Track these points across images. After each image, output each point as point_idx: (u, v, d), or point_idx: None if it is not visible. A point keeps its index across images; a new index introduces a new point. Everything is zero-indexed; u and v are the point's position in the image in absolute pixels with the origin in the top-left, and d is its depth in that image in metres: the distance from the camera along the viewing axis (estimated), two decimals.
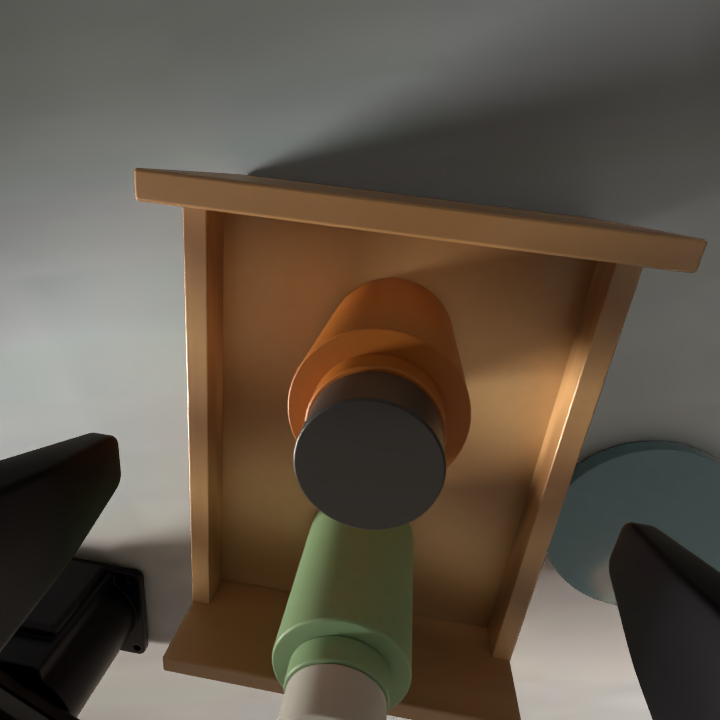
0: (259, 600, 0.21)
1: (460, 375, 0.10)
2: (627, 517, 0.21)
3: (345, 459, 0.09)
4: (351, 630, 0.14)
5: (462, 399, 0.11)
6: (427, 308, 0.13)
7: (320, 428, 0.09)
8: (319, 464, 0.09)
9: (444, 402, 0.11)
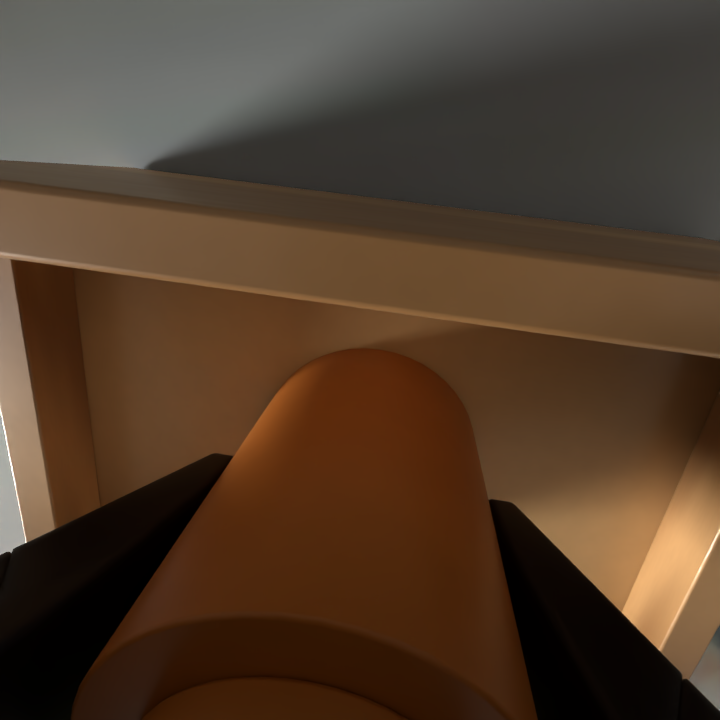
0: None
1: None
2: None
3: None
4: None
5: None
6: (431, 441, 0.06)
7: None
8: None
9: None
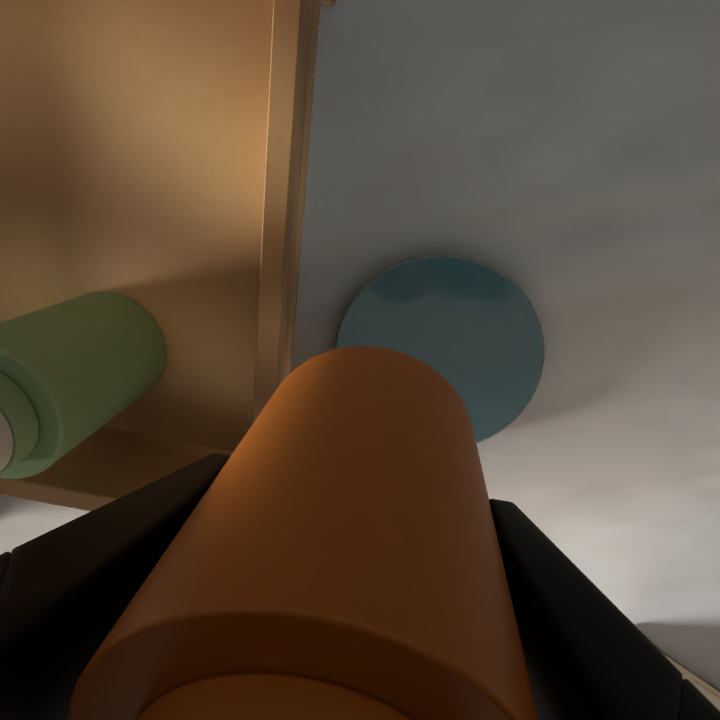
0: None
1: None
2: (414, 342, 0.20)
3: None
4: None
5: None
6: (430, 438, 0.06)
7: None
8: None
9: None
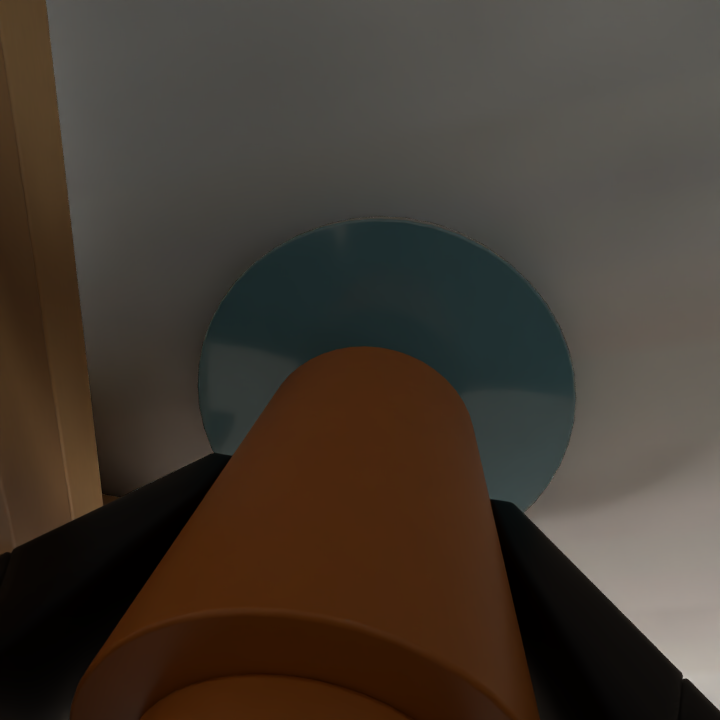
0: None
1: None
2: None
3: None
4: None
5: None
6: (431, 438, 0.06)
7: None
8: None
9: None
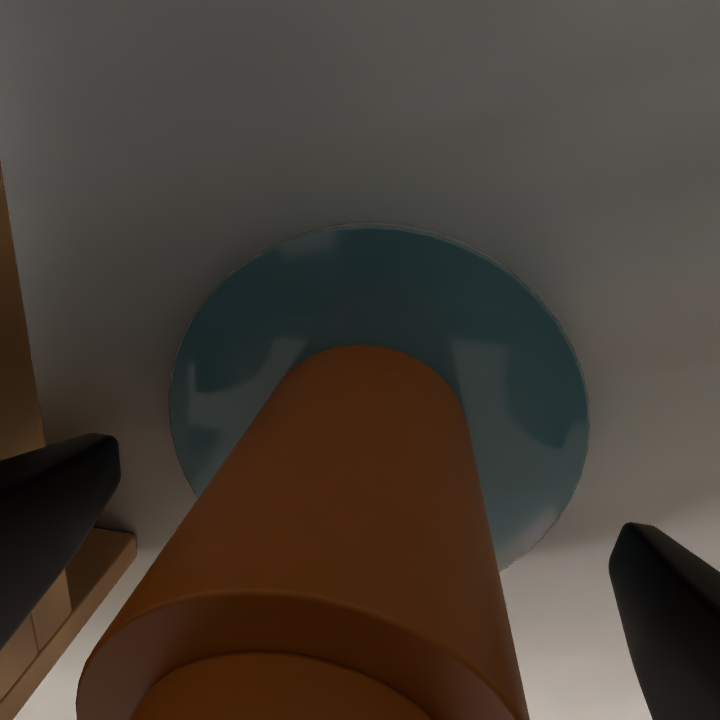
0: None
1: (514, 711, 0.04)
2: None
3: None
4: None
5: None
6: (425, 433, 0.07)
7: None
8: None
9: None
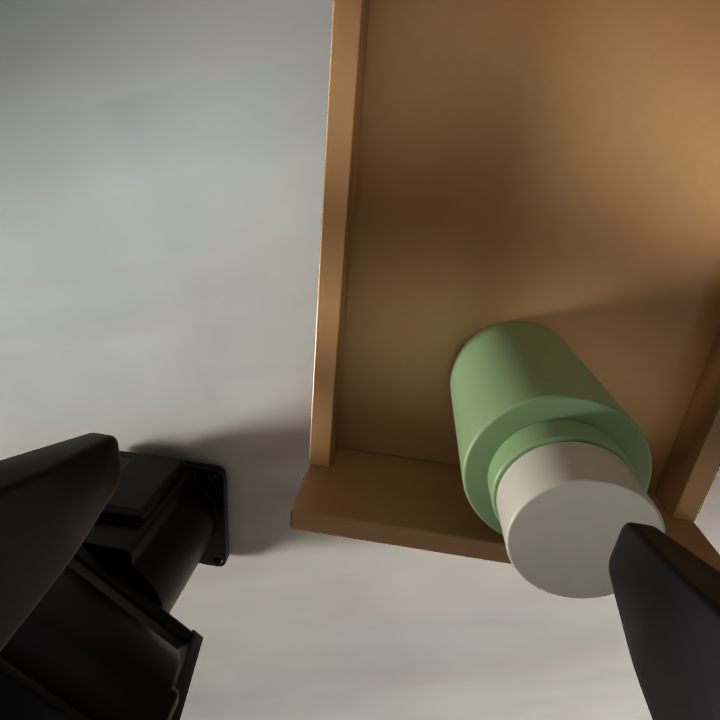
0: (384, 466, 0.18)
1: None
2: None
3: None
4: (581, 410, 0.10)
5: None
6: None
7: None
8: None
9: None
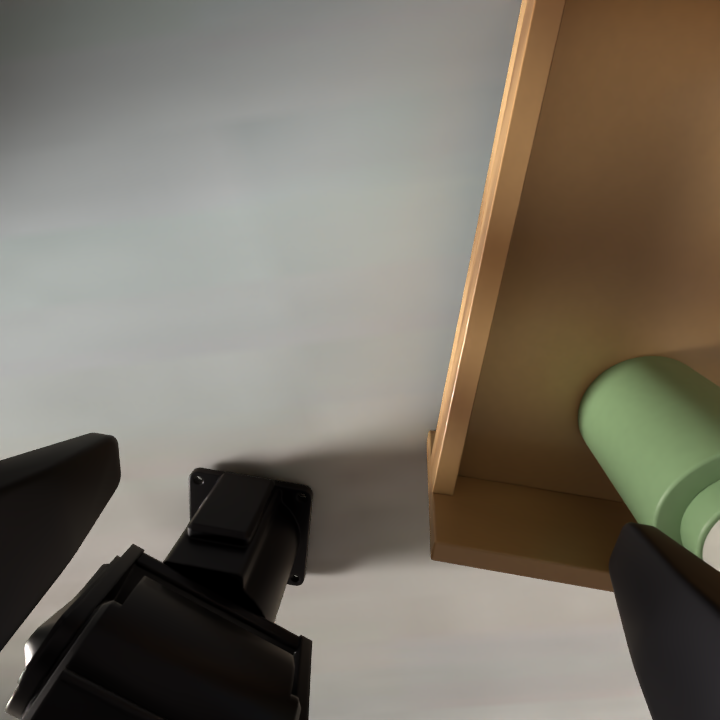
0: (504, 494, 0.18)
1: None
2: None
3: None
4: None
5: None
6: None
7: None
8: None
9: None
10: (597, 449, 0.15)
